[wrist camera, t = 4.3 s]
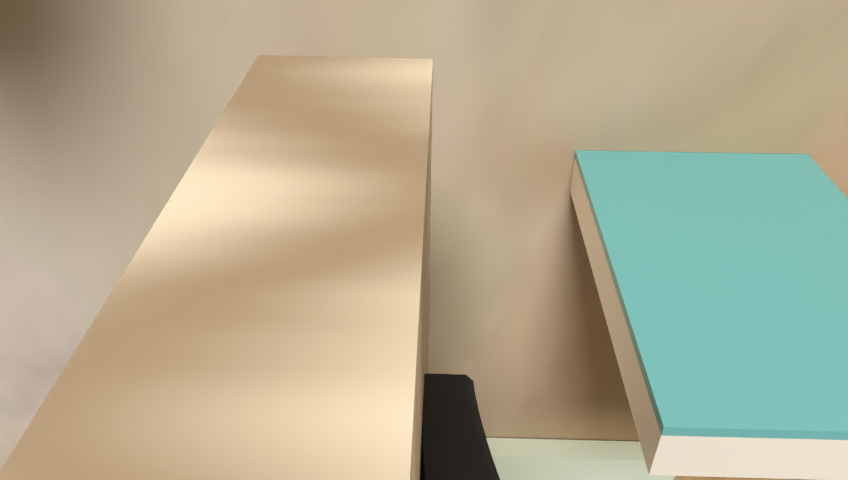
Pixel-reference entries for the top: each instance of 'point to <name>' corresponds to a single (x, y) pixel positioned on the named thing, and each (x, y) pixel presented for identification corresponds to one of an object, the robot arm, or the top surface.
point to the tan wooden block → (267, 297)
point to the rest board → (569, 460)
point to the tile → (724, 307)
